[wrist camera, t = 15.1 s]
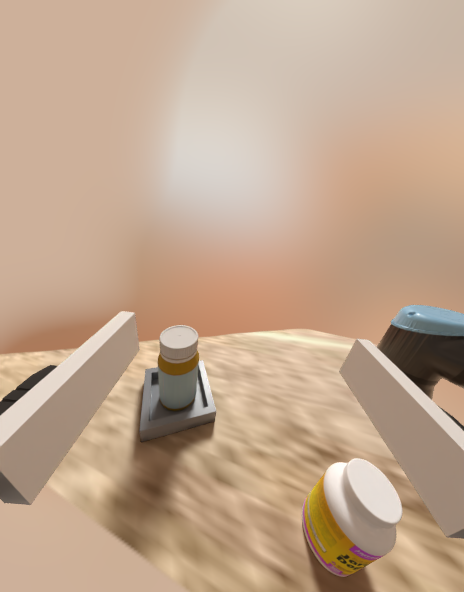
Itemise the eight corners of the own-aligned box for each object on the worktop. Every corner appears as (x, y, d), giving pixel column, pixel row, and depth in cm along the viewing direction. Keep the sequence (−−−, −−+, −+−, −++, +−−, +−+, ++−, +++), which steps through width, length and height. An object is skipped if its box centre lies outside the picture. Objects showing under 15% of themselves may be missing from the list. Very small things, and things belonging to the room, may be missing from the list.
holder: (202, 369, 44) (203, 360, 42) (214, 421, 33) (216, 411, 32) (146, 379, 39) (145, 369, 38) (140, 442, 29) (139, 431, 28)
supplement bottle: (318, 585, 20) (373, 550, 14) (291, 498, 25) (323, 450, 20) (369, 571, 21) (437, 534, 15) (332, 491, 27) (372, 444, 21)
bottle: (202, 390, 38) (208, 332, 31) (180, 420, 32) (182, 357, 25) (176, 375, 40) (177, 319, 34) (151, 401, 34) (146, 339, 28)
